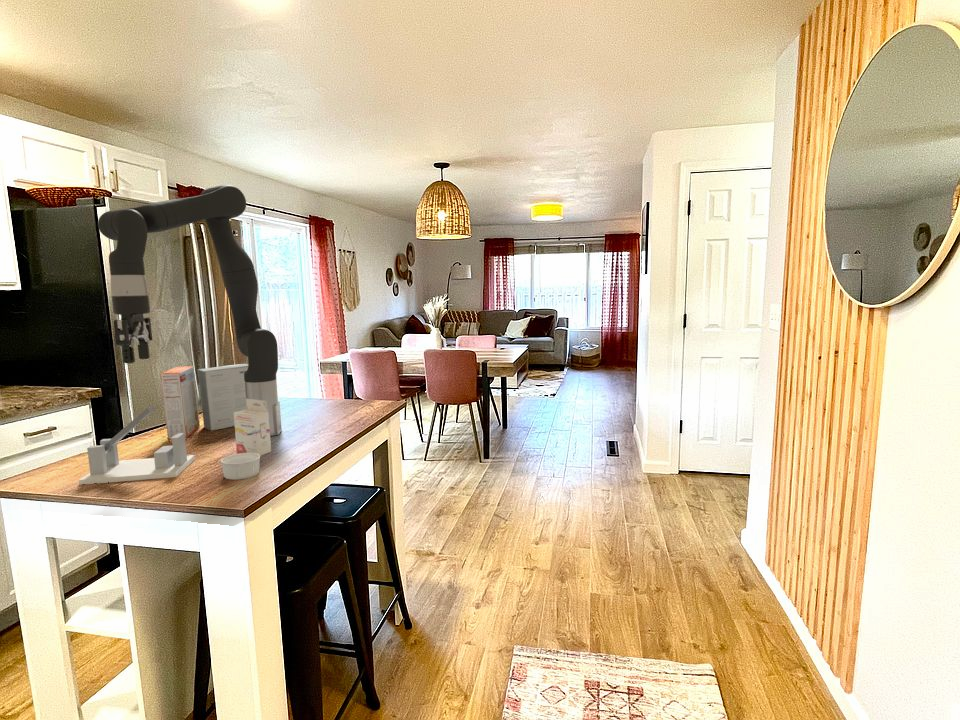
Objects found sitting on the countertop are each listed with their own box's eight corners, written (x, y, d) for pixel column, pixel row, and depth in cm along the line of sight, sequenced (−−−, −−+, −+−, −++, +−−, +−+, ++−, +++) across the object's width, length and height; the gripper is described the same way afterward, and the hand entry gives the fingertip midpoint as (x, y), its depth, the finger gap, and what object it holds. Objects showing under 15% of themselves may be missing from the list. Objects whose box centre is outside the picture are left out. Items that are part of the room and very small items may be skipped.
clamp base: (195, 459, 141) (192, 428, 140) (176, 477, 128) (172, 442, 127) (108, 465, 137) (104, 433, 136) (79, 484, 124) (74, 449, 123)
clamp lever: (157, 410, 133) (150, 403, 133) (151, 413, 130) (144, 406, 129) (106, 454, 132) (99, 448, 132) (99, 459, 129) (92, 452, 128)
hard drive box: (250, 418, 186) (245, 363, 184) (258, 422, 181) (253, 365, 178) (202, 427, 176) (197, 368, 173) (209, 431, 170) (203, 370, 168)
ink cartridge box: (235, 453, 146) (231, 401, 144) (250, 448, 150) (246, 398, 148) (258, 457, 142) (253, 404, 140) (272, 451, 147) (268, 400, 145)
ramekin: (235, 468, 134) (233, 451, 133) (268, 468, 133) (267, 452, 132) (214, 480, 125) (212, 463, 124) (249, 481, 124) (247, 464, 123)
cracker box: (180, 428, 174) (174, 366, 171) (200, 427, 176) (194, 365, 173) (166, 440, 161) (159, 372, 158) (187, 438, 162) (181, 371, 159)
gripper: (133, 294, 121) (141, 364, 123) (159, 294, 135) (165, 356, 137) (97, 294, 120) (105, 365, 122) (126, 294, 133) (133, 358, 136)
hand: (137, 360), depth 129 cm, fingers open, 8 cm apart
